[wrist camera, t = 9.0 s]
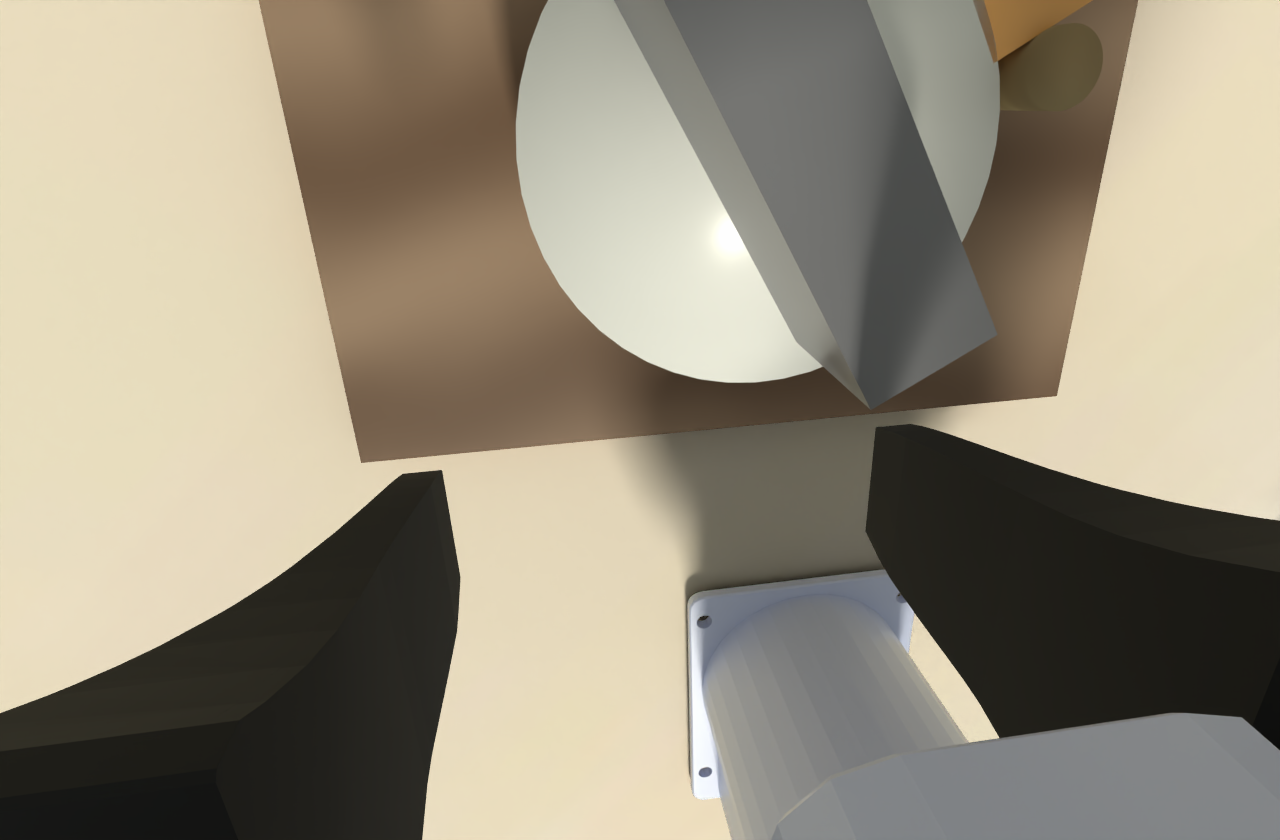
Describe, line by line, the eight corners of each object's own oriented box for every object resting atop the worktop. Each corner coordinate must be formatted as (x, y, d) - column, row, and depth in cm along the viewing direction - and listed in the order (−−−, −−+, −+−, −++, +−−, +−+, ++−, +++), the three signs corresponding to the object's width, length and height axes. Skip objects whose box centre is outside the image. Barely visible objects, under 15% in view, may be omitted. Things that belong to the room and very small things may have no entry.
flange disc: (669, 441, 18) (716, 555, 14) (413, 59, 14) (357, 40, 10) (1115, 170, 17) (1329, 195, 12) (975, -335, 13) (1217, -572, 8)
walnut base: (1025, 378, 23) (1141, 443, 19) (372, 439, 21) (330, 528, 16) (1137, -228, 17) (1349, -343, 13) (231, -231, 15) (104, -369, 10)
